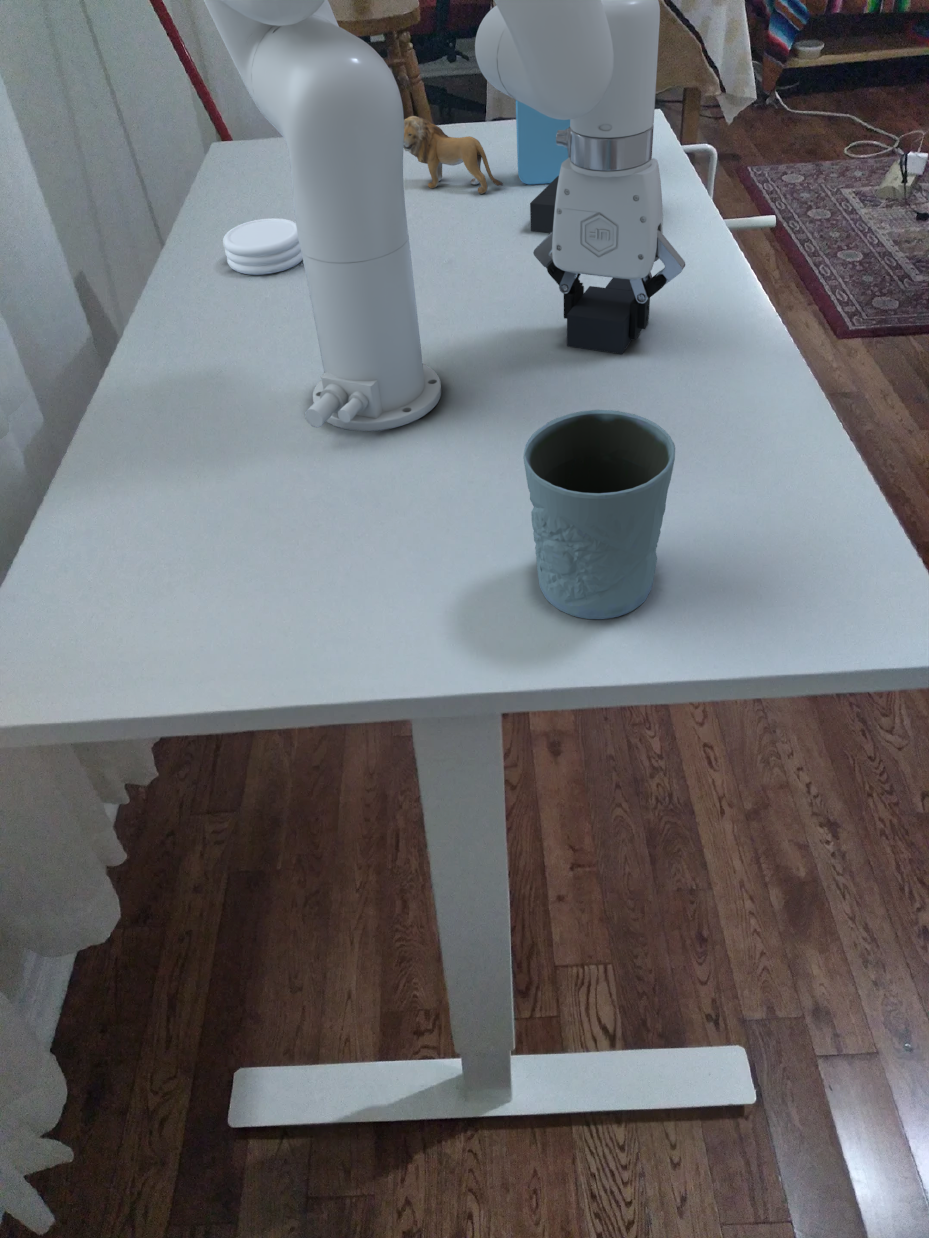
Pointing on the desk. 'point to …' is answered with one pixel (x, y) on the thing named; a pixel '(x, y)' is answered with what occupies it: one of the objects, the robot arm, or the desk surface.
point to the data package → (538, 145)
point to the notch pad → (544, 209)
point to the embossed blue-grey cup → (598, 509)
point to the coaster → (263, 246)
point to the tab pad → (602, 318)
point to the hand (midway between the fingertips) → (605, 328)
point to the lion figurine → (445, 151)
